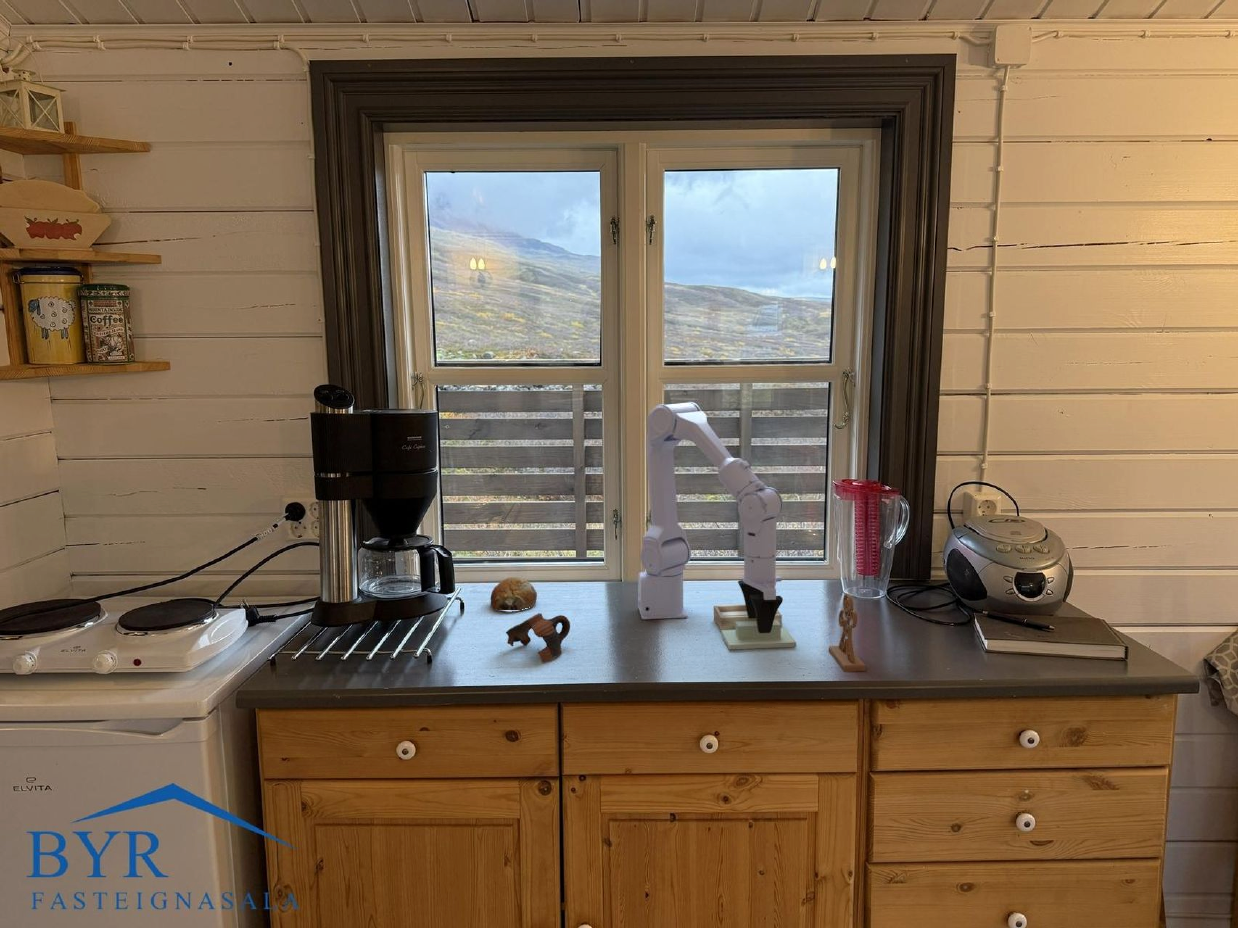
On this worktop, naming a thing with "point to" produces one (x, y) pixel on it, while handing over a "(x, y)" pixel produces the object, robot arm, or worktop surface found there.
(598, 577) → the worktop surface
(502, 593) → the bread roll
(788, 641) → the lid
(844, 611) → the tan tall carved piece
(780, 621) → the box
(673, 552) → the robot arm
